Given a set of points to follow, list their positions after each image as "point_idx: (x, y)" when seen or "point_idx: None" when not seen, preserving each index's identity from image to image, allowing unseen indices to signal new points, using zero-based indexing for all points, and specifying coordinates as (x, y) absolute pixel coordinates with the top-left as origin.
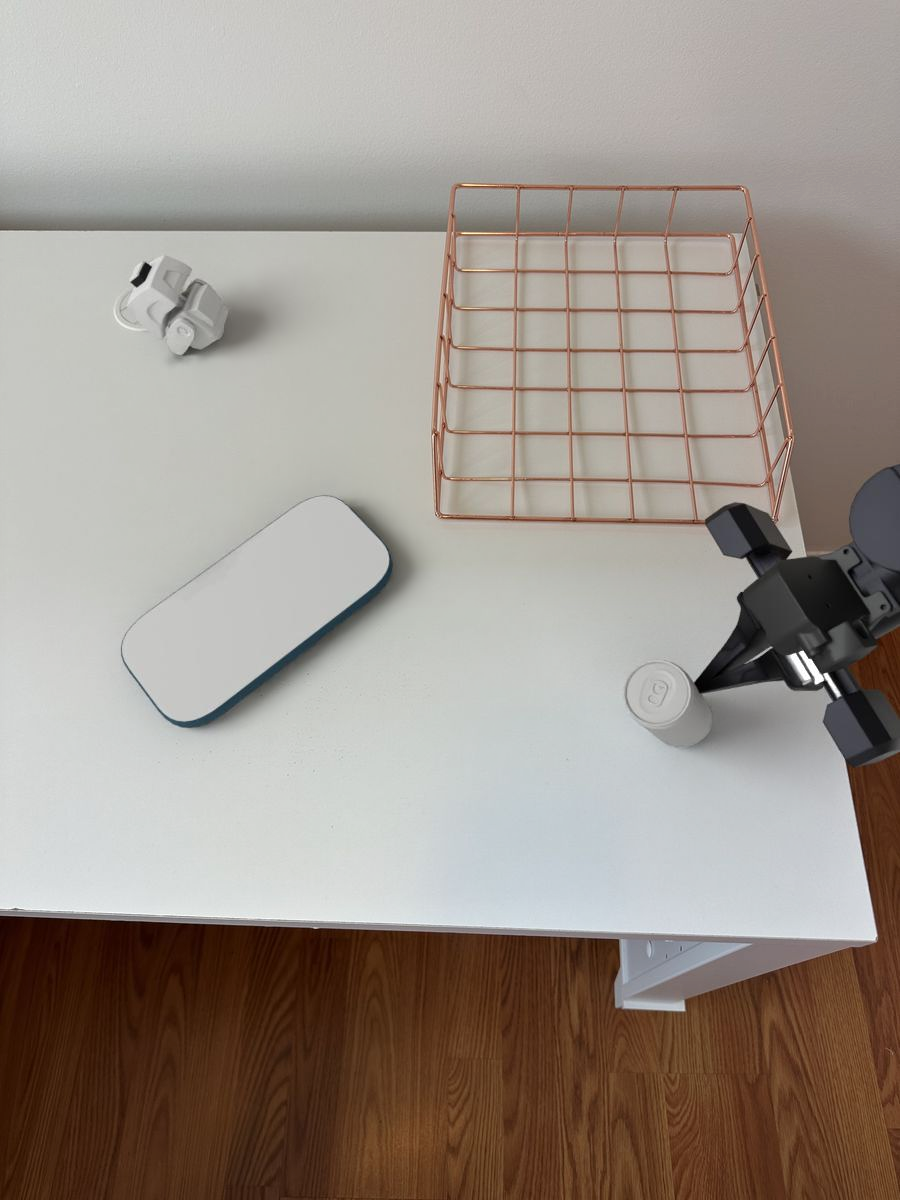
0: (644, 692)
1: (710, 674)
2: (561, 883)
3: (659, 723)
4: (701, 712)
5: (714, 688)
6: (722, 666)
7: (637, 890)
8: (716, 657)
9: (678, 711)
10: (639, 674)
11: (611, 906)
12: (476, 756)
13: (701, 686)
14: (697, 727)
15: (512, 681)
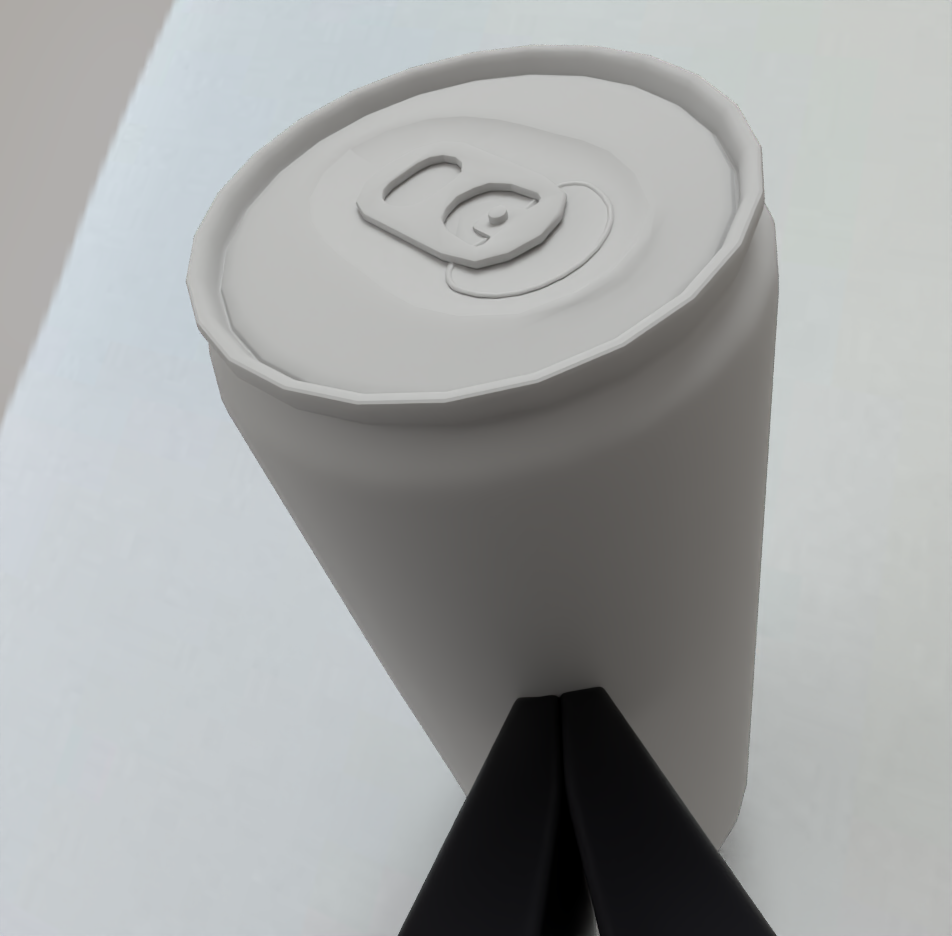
0: (506, 148)
1: (593, 795)
2: (185, 220)
3: (249, 208)
4: (430, 710)
5: (474, 791)
6: (607, 912)
7: (93, 429)
8: (718, 888)
9: (247, 311)
10: (661, 123)
11: (80, 344)
12: (624, 32)
13: (546, 719)
14: (404, 699)
15: (891, 166)
